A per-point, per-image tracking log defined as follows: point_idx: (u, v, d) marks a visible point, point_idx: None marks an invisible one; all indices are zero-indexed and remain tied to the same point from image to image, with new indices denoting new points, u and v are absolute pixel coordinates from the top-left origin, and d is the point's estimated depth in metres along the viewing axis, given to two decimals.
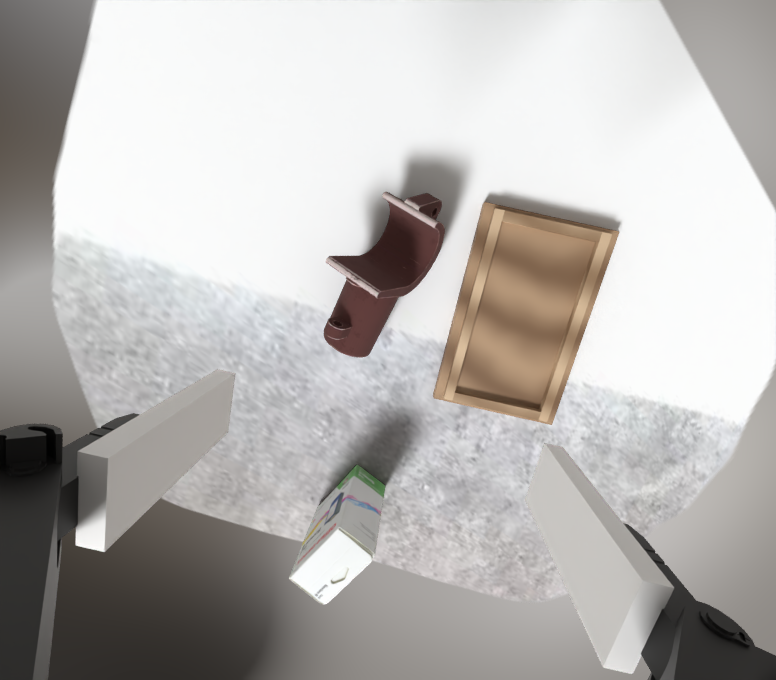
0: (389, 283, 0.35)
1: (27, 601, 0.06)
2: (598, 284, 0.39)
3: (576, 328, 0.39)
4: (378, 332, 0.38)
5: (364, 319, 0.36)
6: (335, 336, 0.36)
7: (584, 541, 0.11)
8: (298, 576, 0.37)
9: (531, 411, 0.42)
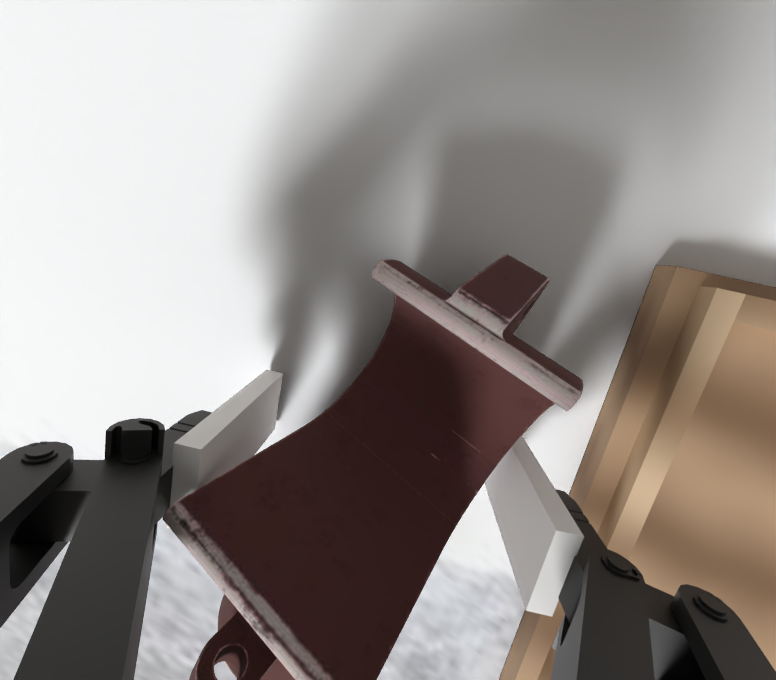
0: (393, 570, 0.10)
1: (127, 581, 0.06)
2: None
3: None
4: None
5: None
6: None
7: (520, 504, 0.12)
8: None
9: None
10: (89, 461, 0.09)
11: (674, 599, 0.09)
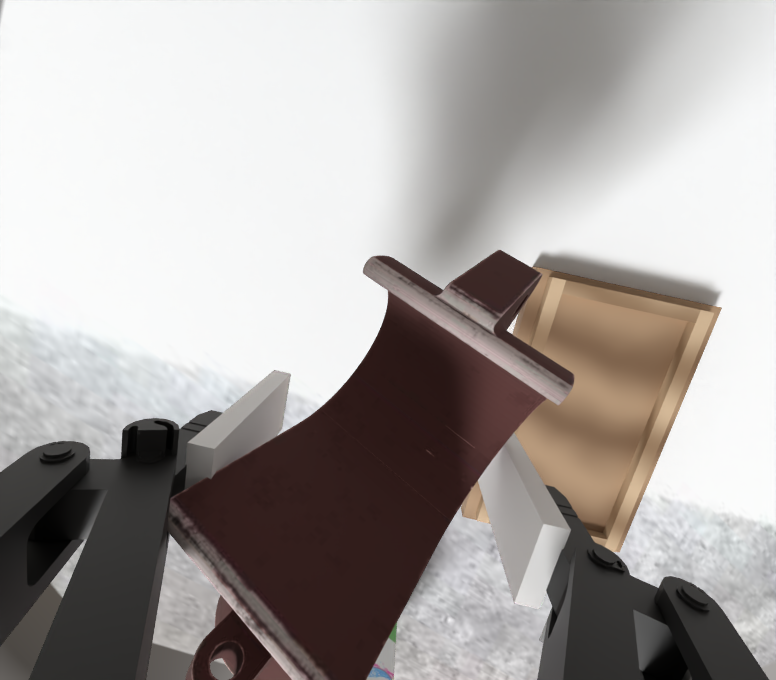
0: (387, 566, 0.10)
1: (141, 580, 0.06)
2: (689, 376, 0.29)
3: (659, 434, 0.29)
4: None
5: None
6: None
7: (510, 500, 0.12)
8: None
9: (594, 538, 0.31)
10: (104, 460, 0.10)
11: (658, 591, 0.09)
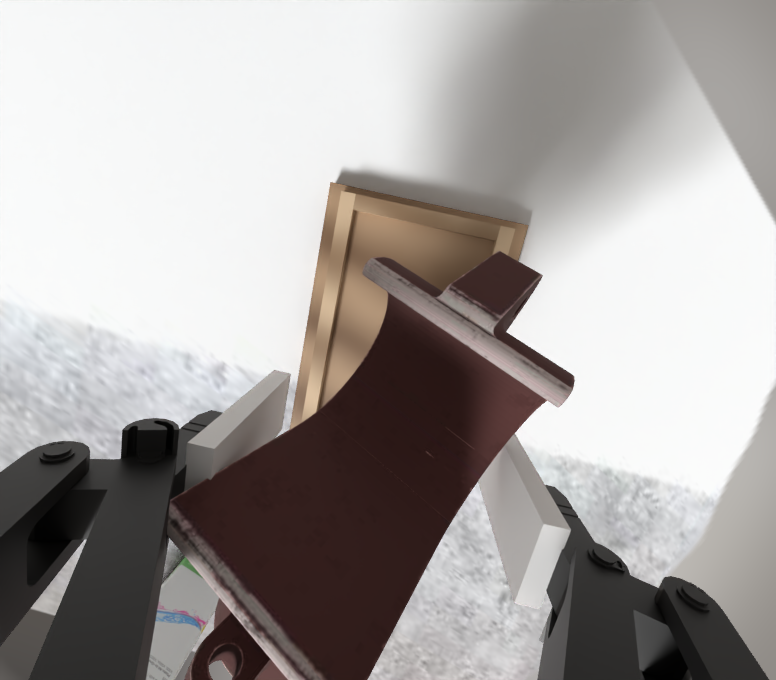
0: (386, 568, 0.10)
1: (141, 579, 0.06)
2: None
3: None
4: None
5: None
6: None
7: (510, 499, 0.12)
8: None
9: None
10: (104, 460, 0.10)
11: (658, 591, 0.09)
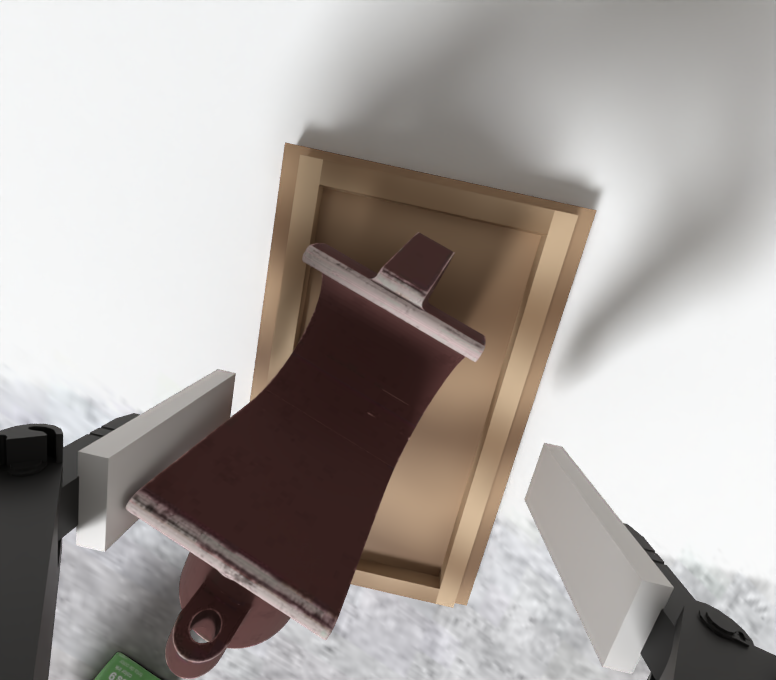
0: (348, 512, 0.12)
1: (27, 601, 0.06)
2: (551, 330, 0.17)
3: (504, 426, 0.18)
4: None
5: None
6: (202, 672, 0.12)
7: (584, 541, 0.11)
8: None
9: (419, 586, 0.20)
10: None
11: None
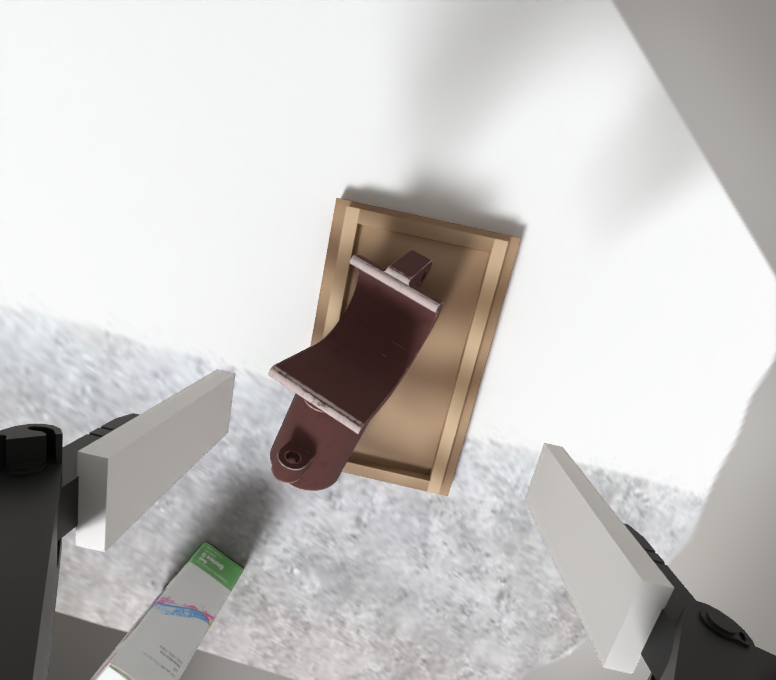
0: (370, 394, 0.23)
1: (26, 602, 0.06)
2: (497, 310, 0.28)
3: (468, 370, 0.29)
4: (352, 450, 0.27)
5: (333, 444, 0.24)
6: (291, 479, 0.23)
7: (584, 541, 0.11)
8: None
9: (416, 479, 0.31)
10: None
11: None
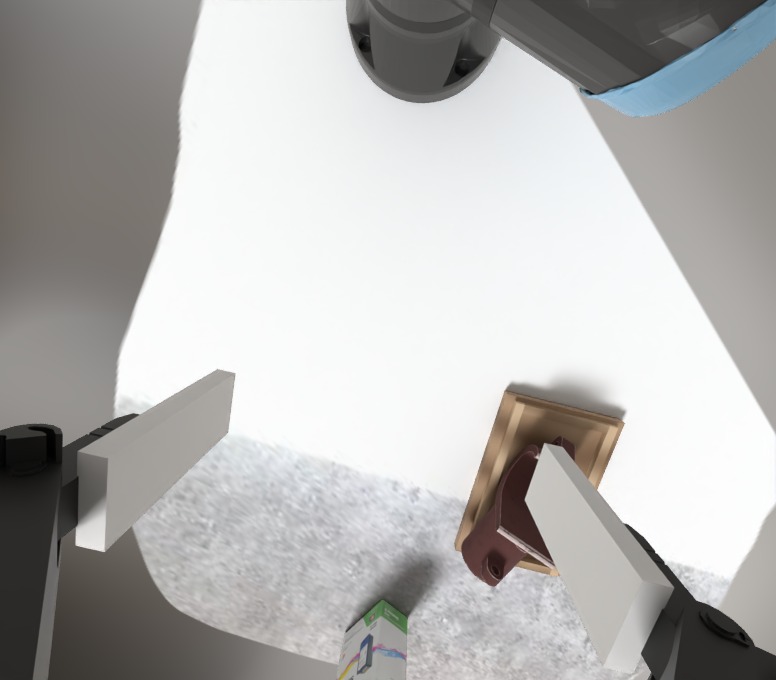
0: None
1: (27, 601, 0.06)
2: (605, 464, 0.44)
3: None
4: None
5: (516, 560, 0.40)
6: (496, 584, 0.39)
7: (584, 541, 0.11)
8: None
9: (543, 567, 0.47)
10: None
11: None
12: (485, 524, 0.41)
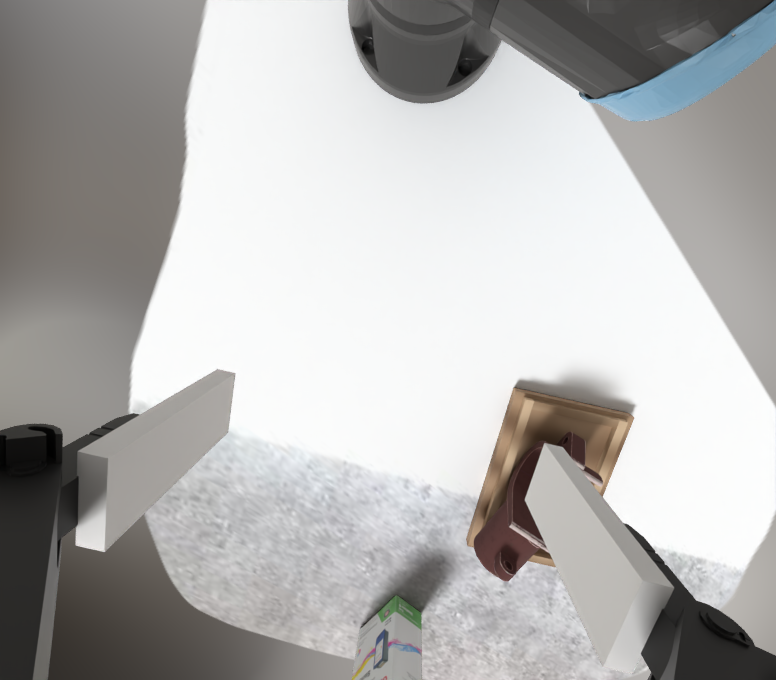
0: None
1: (26, 601, 0.06)
2: (615, 458, 0.44)
3: None
4: None
5: (528, 555, 0.40)
6: (509, 579, 0.39)
7: (584, 541, 0.11)
8: None
9: None
10: None
11: None
12: (497, 520, 0.42)
